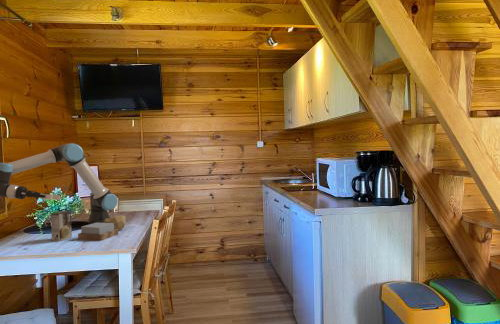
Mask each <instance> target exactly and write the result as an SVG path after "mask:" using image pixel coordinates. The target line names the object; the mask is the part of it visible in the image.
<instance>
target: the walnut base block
mask: <svg viewBox="0 0 500 324" xmlns="http://www.w3.org/2000/svg"><path fill="white" fill-rule="evenodd" d="M115 236H119V231H118V229H114V230H112V231H109V232H106V233H103V234H83V233H81V232H80V233H78V234H77V239H78V240H81V241H82V240H83V241H84V240H85V241H96V242H97V241H99V242H102V241H104V240H107V239H110V238H113V237H115Z"/></svg>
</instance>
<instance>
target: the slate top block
mask: <svg viewBox="0 0 500 324" xmlns="http://www.w3.org/2000/svg"><path fill="white" fill-rule="evenodd" d="M80 229H81V230H80V231H81V232H80V233H83V234H103V233H106V232H109V231H112V230H114V223H93V224H90V223H88V224H86V225H83V226H81V227H80Z"/></svg>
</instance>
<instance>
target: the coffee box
mask: <svg viewBox="0 0 500 324" xmlns="http://www.w3.org/2000/svg"><path fill="white" fill-rule="evenodd" d="M50 221H51V224H50V225H51V241H52V240H53V242H61V241H62V240H63V241H66V240H68V239H71V238H72V237H73V234H72V211H67V210H65V211H64V210H63V211H58V212H54V213H51V214H50Z"/></svg>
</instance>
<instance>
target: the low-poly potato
mask: <svg viewBox="0 0 500 324" xmlns="http://www.w3.org/2000/svg"><path fill="white" fill-rule="evenodd" d="M104 223H114V229H118V232H120V231H122V230H124V228H125V227H126V226H125V225H126V215H116V216H113V217H110V218H106V219H105V221H104Z"/></svg>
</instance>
